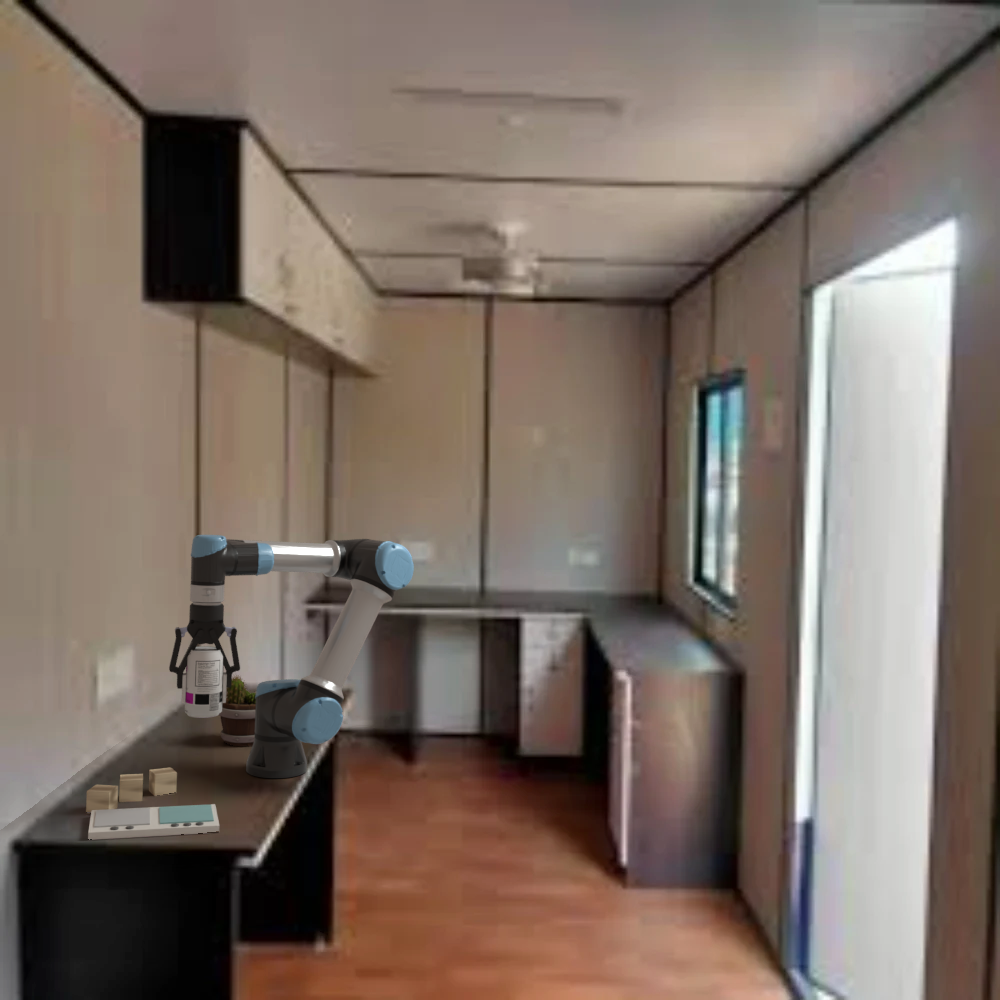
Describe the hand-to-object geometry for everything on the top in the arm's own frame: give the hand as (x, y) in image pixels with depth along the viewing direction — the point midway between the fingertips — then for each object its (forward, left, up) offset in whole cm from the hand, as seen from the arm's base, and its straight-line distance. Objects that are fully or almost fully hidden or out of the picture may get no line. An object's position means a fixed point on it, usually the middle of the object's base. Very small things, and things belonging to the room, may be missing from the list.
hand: (203, 702), depth 255 cm
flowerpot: (-54, +14, -23) cm, 60 cm away
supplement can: (0, 0, -3) cm, 3 cm away
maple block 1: (+2, -21, -23) cm, 31 cm away
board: (+14, -10, -23) cm, 29 cm away
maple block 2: (-6, -15, -23) cm, 28 cm away
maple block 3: (-10, -8, -23) cm, 27 cm away
